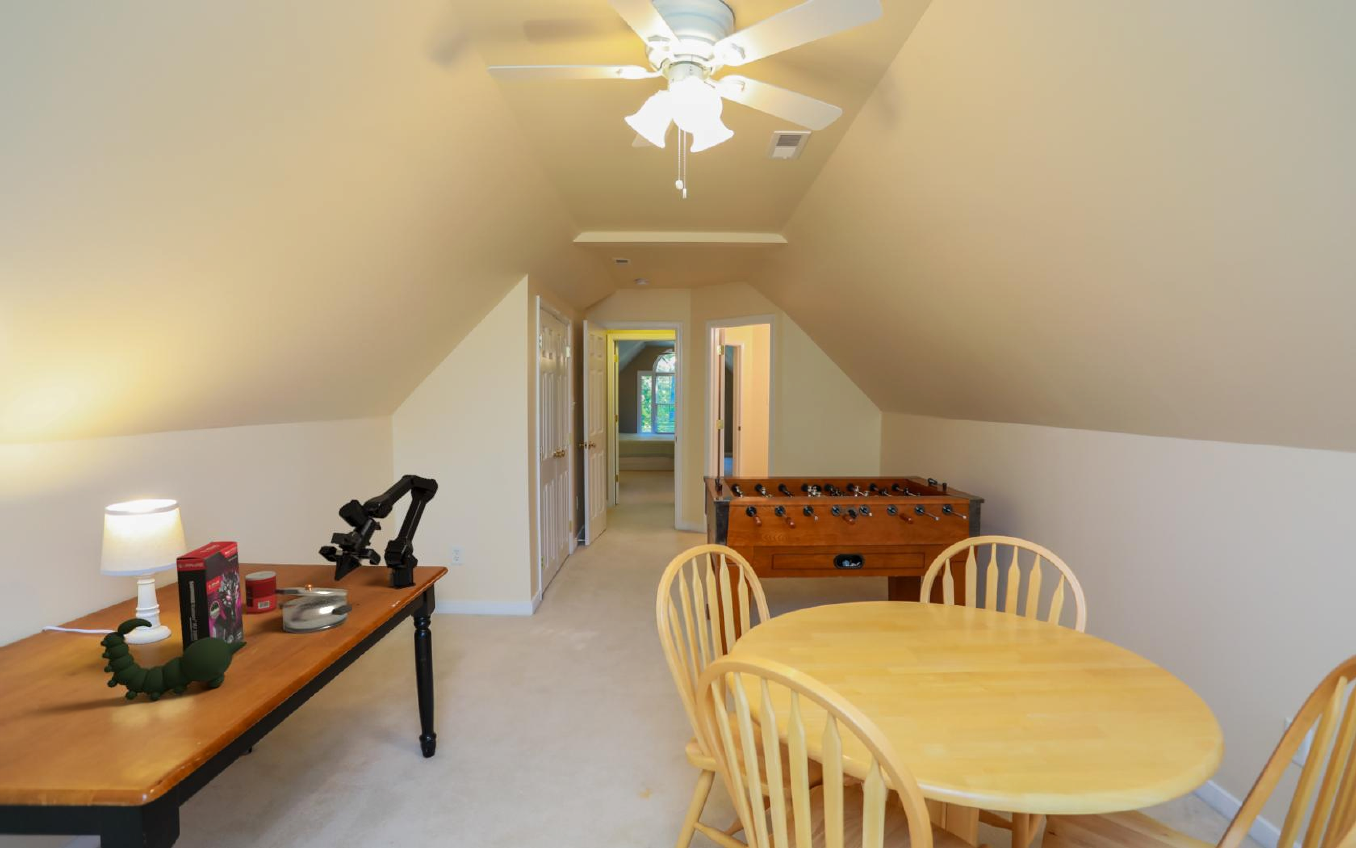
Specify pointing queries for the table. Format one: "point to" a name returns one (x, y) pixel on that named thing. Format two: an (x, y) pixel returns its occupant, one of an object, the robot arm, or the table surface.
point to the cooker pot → (314, 613)
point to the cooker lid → (311, 591)
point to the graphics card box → (210, 593)
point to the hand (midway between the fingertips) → (335, 580)
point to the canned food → (260, 592)
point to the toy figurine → (196, 664)
